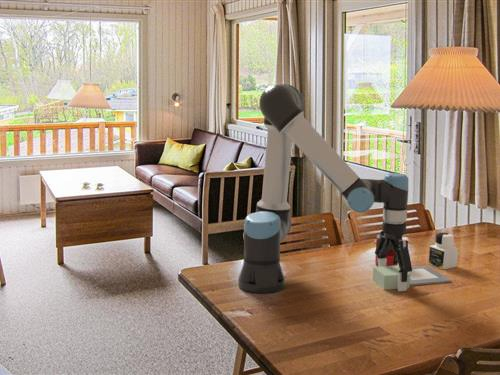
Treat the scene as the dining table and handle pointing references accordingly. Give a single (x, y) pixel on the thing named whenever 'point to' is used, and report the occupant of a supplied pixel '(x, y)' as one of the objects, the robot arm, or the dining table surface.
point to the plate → (426, 276)
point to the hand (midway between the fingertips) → (391, 283)
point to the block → (388, 277)
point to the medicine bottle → (443, 252)
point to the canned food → (387, 256)
